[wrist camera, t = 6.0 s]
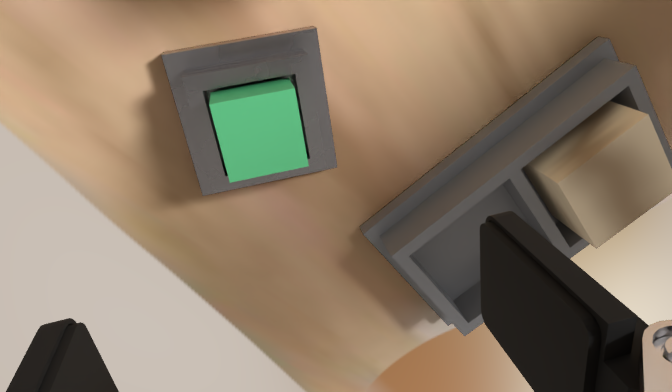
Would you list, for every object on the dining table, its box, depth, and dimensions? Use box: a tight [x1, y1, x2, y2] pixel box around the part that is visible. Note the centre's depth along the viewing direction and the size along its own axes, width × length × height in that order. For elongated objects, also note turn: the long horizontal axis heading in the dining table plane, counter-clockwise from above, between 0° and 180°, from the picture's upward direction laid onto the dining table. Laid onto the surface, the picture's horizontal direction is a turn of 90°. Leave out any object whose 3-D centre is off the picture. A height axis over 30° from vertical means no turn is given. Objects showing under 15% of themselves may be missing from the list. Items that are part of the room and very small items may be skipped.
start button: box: [209, 78, 309, 183], centre depth 24 cm, size 4×4×2 cm
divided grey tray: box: [360, 37, 672, 336], centre depth 32 cm, size 19×11×4 cm, turn 129°
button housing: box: [161, 26, 337, 196], centre depth 26 cm, size 8×8×3 cm
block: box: [523, 101, 672, 248], centre depth 30 cm, size 6×6×4 cm
